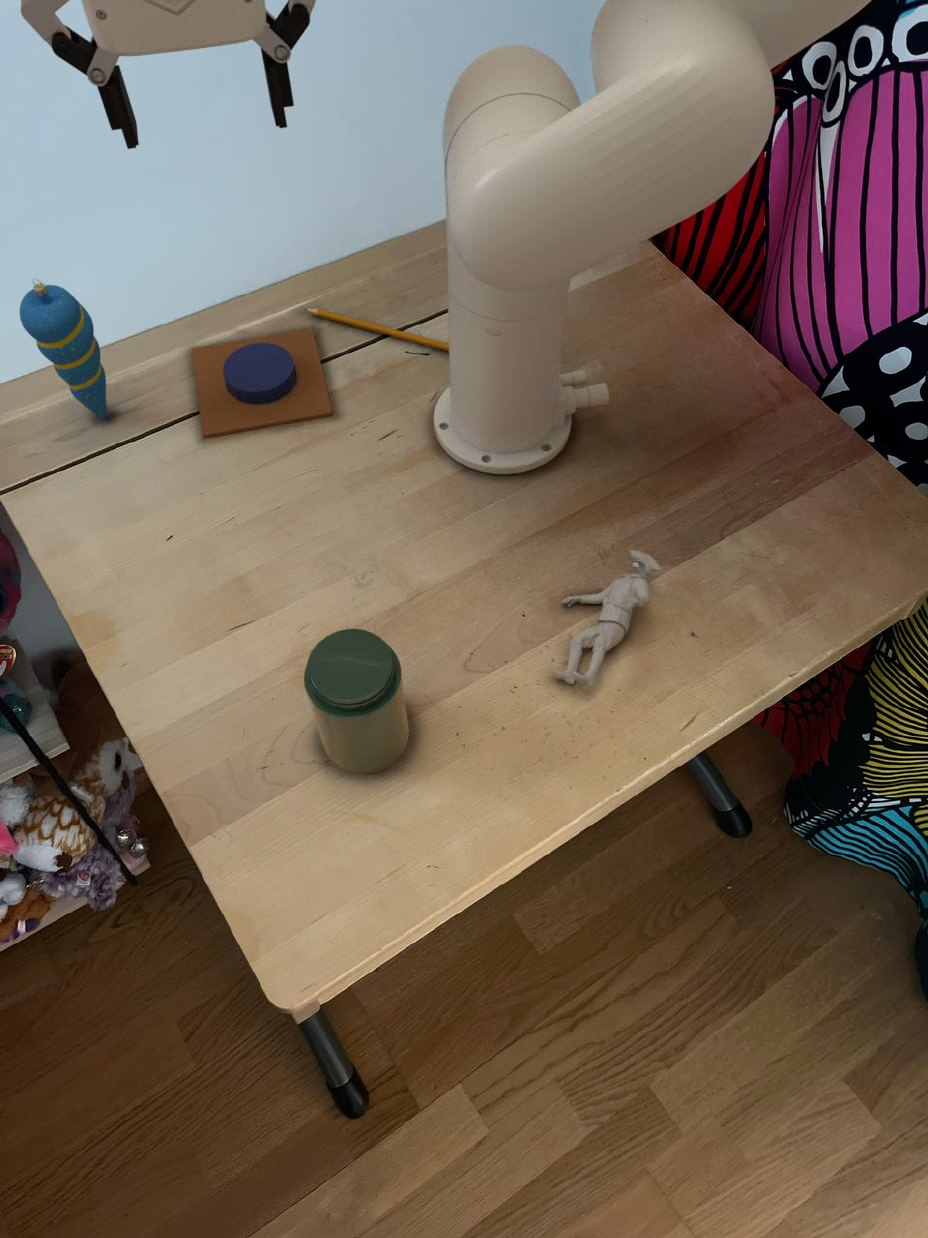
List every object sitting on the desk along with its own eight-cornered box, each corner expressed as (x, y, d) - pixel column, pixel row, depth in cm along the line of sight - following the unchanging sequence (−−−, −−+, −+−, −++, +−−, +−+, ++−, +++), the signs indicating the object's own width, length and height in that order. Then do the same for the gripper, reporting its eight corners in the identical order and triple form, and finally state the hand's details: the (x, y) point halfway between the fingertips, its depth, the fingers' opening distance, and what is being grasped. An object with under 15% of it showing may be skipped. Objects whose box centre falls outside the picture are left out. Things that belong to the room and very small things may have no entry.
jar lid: (290, 350, 89) (288, 337, 88) (301, 397, 86) (298, 384, 85) (222, 362, 89) (218, 349, 87) (230, 410, 85) (227, 397, 84)
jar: (399, 687, 70) (389, 613, 61) (417, 763, 66) (409, 695, 58) (315, 706, 69) (293, 633, 60) (330, 783, 65) (308, 718, 57)
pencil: (480, 356, 89) (480, 350, 89) (477, 361, 89) (477, 354, 88) (306, 309, 93) (305, 302, 92) (303, 313, 93) (301, 307, 92)
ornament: (116, 441, 84) (53, 305, 71) (63, 433, 84) (-8, 296, 72) (138, 401, 86) (81, 263, 74) (87, 394, 87) (22, 256, 74)
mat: (313, 331, 92) (312, 328, 91) (332, 415, 85) (332, 412, 85) (192, 351, 90) (191, 348, 90) (203, 438, 84) (202, 435, 83)
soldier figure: (525, 669, 72) (581, 534, 74) (568, 694, 74) (621, 563, 76) (589, 679, 65) (649, 531, 67) (634, 706, 67) (690, 562, 70)
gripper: (-60, -168, 43) (73, 178, 57) (306, -202, 45) (346, 140, 59) (-51, -222, 47) (71, 114, 61) (285, -250, 49) (327, 81, 63)
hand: (206, 126), depth 60 cm, fingers open, 9 cm apart
